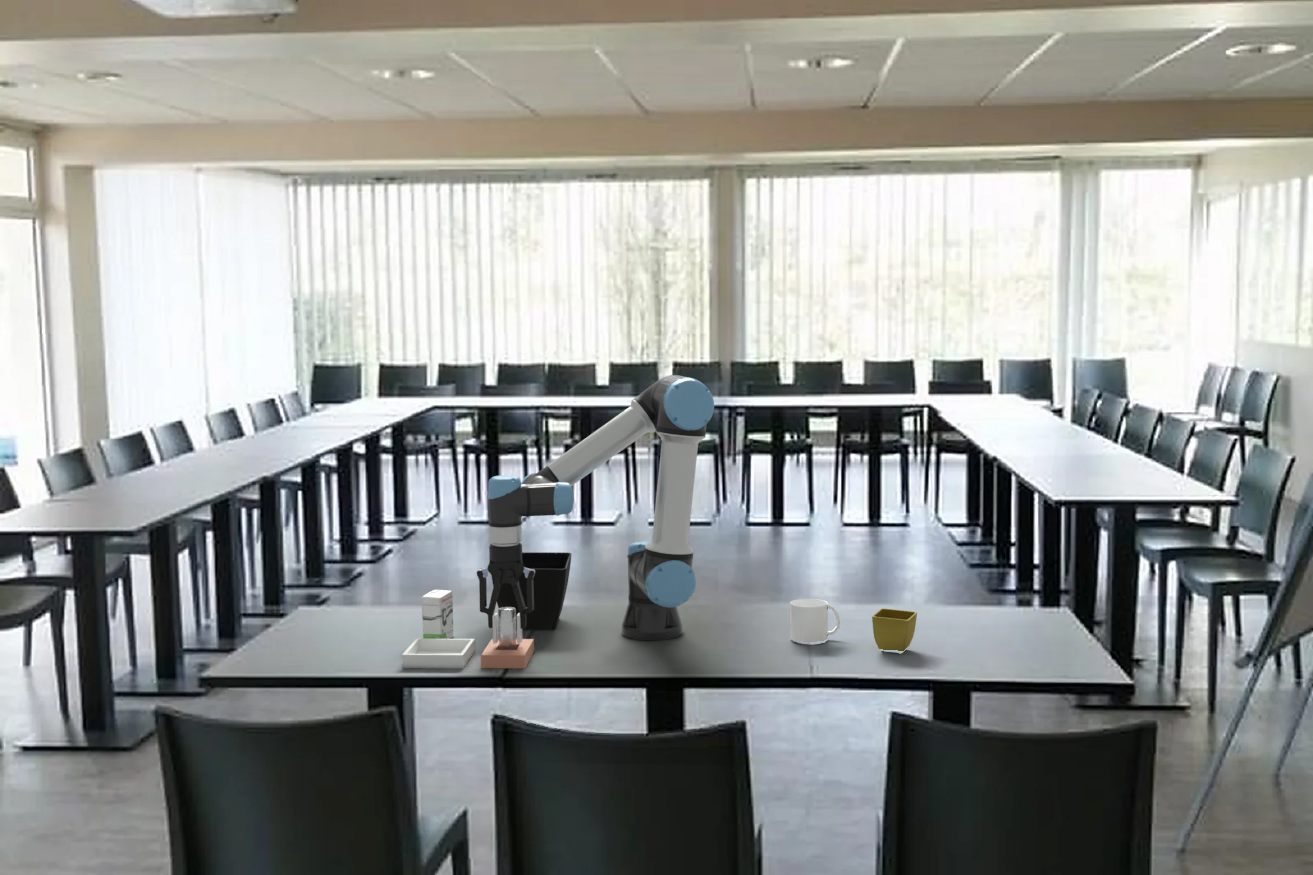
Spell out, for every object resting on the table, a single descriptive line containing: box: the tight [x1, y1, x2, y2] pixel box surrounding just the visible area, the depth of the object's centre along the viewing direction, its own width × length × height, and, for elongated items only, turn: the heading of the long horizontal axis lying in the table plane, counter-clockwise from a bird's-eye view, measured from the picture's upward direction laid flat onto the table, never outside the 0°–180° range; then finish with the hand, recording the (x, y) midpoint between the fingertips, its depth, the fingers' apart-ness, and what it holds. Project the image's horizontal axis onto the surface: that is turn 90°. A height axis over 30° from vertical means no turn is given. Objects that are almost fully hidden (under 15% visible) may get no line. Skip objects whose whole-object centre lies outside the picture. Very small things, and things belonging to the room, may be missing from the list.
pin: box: [497, 607, 517, 650], centre depth 312 cm, size 4×4×12 cm
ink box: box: [421, 589, 454, 639], centre depth 329 cm, size 9×5×12 cm, turn 167°
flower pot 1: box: [490, 551, 572, 631], centre depth 344 cm, size 19×19×17 cm
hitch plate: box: [480, 638, 535, 669], centre depth 312 cm, size 10×14×3 cm
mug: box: [789, 598, 841, 642], centre depth 326 cm, size 12×9×9 cm
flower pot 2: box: [871, 607, 918, 652], centre depth 316 cm, size 9×9×9 cm
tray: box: [401, 637, 476, 669], centre depth 313 cm, size 14×14×3 cm
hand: (507, 641), depth 312 cm, fingers open, 5 cm apart
